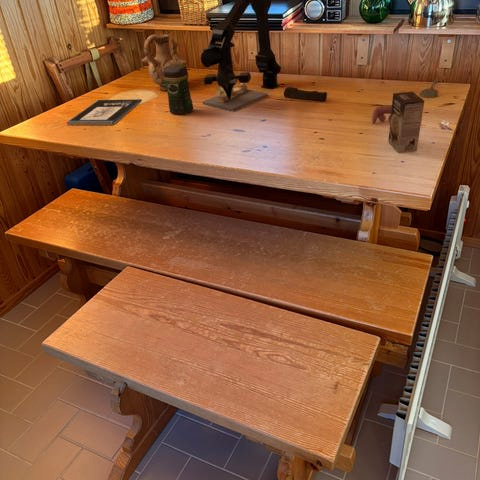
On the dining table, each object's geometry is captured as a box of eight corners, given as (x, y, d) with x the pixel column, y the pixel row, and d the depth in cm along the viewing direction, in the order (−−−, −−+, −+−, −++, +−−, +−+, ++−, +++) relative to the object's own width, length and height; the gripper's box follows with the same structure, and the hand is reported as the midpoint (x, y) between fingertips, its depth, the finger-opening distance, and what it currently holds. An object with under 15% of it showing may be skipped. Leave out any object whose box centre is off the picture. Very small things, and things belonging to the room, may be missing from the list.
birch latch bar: (241, 88, 206) (241, 84, 205) (249, 89, 204) (248, 85, 203) (216, 101, 195) (216, 96, 194) (224, 102, 193) (223, 97, 192)
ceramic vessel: (191, 90, 216) (182, 32, 202) (150, 97, 213) (139, 39, 198) (184, 80, 230) (176, 26, 216) (146, 86, 227) (135, 32, 213)
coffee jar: (196, 109, 193) (190, 63, 183) (186, 116, 187) (179, 69, 177) (177, 107, 197) (169, 62, 186) (167, 114, 191) (158, 68, 181)
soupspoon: (417, 100, 183) (435, 102, 180) (419, 92, 181) (436, 94, 178) (428, 81, 198) (444, 83, 195) (430, 74, 196) (446, 75, 193)
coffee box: (387, 142, 151) (392, 92, 142) (406, 139, 151) (412, 90, 142) (397, 153, 143) (403, 102, 134) (417, 151, 144) (425, 99, 134)
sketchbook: (142, 102, 210) (141, 97, 209) (113, 127, 186) (112, 122, 185) (99, 102, 215) (98, 97, 213) (66, 126, 191) (64, 122, 190)
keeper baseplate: (238, 89, 210) (237, 78, 207) (268, 96, 199) (267, 84, 196) (202, 104, 198) (201, 92, 195) (232, 111, 187) (231, 99, 184)
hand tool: (327, 100, 189) (328, 89, 187) (323, 103, 187) (323, 92, 184) (287, 95, 199) (286, 84, 196) (282, 98, 196) (282, 87, 193)
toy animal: (400, 126, 165) (402, 105, 164) (400, 124, 160) (403, 104, 159) (371, 125, 168) (374, 105, 166) (371, 123, 163) (373, 103, 162)
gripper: (197, 67, 181) (203, 106, 190) (244, 65, 177) (248, 105, 186) (204, 60, 190) (210, 97, 199) (249, 57, 186) (252, 95, 194)
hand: (229, 99), depth 194 cm, fingers closed
